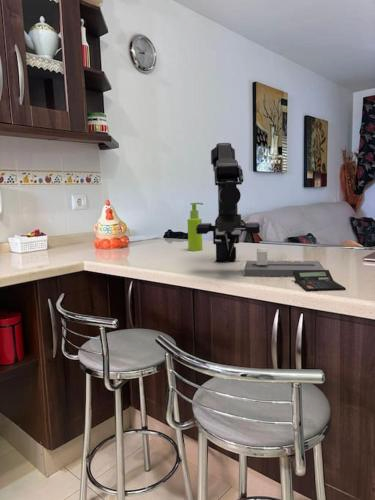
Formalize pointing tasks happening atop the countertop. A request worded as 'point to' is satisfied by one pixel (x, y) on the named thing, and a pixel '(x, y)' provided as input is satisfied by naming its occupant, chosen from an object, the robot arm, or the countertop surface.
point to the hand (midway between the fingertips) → (228, 256)
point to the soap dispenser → (194, 230)
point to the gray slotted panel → (280, 268)
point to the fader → (261, 256)
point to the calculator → (316, 280)
